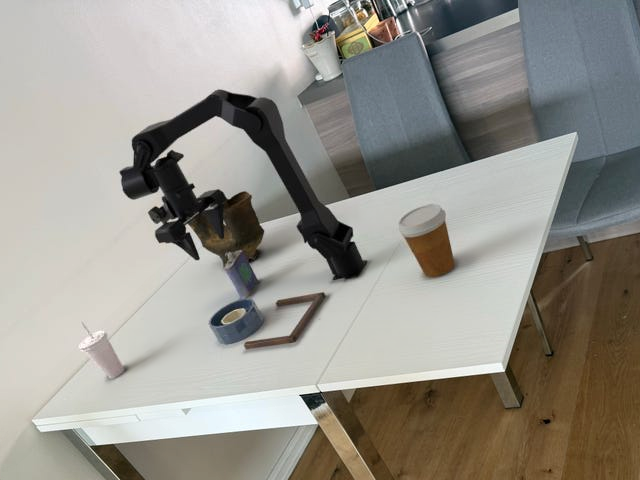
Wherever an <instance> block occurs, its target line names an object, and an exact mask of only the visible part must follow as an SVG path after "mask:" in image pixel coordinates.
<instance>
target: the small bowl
mask: <svg viewBox="0 0 640 480" xmlns="http://www.w3.org/2000/svg"><path fill="white" fill-rule="evenodd" d="M246 313H247V312H246V311H245V309H244V308H242V309H236V310H234V311H232V312H230V313H228V314H227V315H226V316H225V317H224V318H223V319H222V320H221V322H222V324H223V325H226V324H229V323H232V322H234V321H236V320H237V319H239V318H241V317H242V316H243V315H245V314H246Z"/></svg>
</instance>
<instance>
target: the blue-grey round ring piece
mask: <svg viewBox="0 0 640 480" xmlns="http://www.w3.org/2000/svg"><path fill="white" fill-rule="evenodd" d="M242 308H244V309H245V311H246V312H247V313H246V314H245V315H243V316H242V317H241V318H239V319H237V320H236V321H234V322H232V323H229V324H226V325H223V324H222V322H221V320H222V319H223V318H224V317H225V316H226V315H227V314H228V313H230V312H232V311H234V310H236V309H242ZM263 323H264V316H263V314H262V312H261V310H260V309H259V307H258V305H257V303H256V301H255V300H254V299H253V298H249V297H248V298H245V299H241V298H240V299H237V300H235V301H232V302H229V303H227V304H226V305H224V306H223V307H221V308H219V310H217V311H216V312H214V313H213V315H212V316H211V317H210V318H209V320H208V326H209V328H210V329H211V330H212V332H213V334H214V336H215V337H216V339H217V341H218V343H219V344H223V345H230V344H231V345H232V344H234V343H237V342H240V341H242V340H245V339H246V338H248V337H250V336H251V335H253V334H255V332H257V331H258V330H259V329H260V328H261V326H262V325H263Z"/></svg>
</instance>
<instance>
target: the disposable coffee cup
mask: <svg viewBox="0 0 640 480" xmlns="http://www.w3.org/2000/svg"><path fill="white" fill-rule="evenodd" d="M446 215H447V212H446V211H445V210H444V209H443V208H442V206H441V205H440V204H437V203H436V204H435V203H433V204H432V203H430V204H425V205H424V204H423V205H421V206H418V207H415V208H413V209H411V210H409V211H408V212H406V213H405V214H403V215H402V216H401V218H399V220H398V229H397V231H398V232H399V234H401V235H402V237H403V238H404V240H405V242H406V243H407V245H408V247H409V249H410V251H411V253H412V254H413V256H414V258H415V260H416V261H417V263H418V265H419V267H420V268H421V270H422V272H423V274H424V276H425V277H427V278H437V277H442V276H444V275H445V274H448V273H449V272H450V271H452V270H454V268H455V265H456V264H455V263H456V262H455V259H454V254H453V249H452V243H451V240H450V235H449V231H448V225H447V223H446Z"/></svg>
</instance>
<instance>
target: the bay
mask: <svg viewBox="0 0 640 480" xmlns="http://www.w3.org/2000/svg"><path fill="white" fill-rule="evenodd" d="M325 298H326V294H325V292H324V291H321V292H317V293H310V294H304V295H300V296H293V297H288V298H282V299H278V300H276V302H275V305H276V307H277V308H281V307H285V306H292V305H297V304H305V303H310V302H311V304H310V305H309V307H308V308H307V310H306V311H305V312H304V314H303V315H302V317H301V318H300V320H299V321H298V323H297V324H296V326H295V327H294V328H293V330H292V331H291V333H290V334H289V335H283V336H277V337H270V338H263V339H256V340H249V341H245V342H244V344H243V347H244V348H245V350H250V349H258V348H264V347H265V348H266V347H271V346H272V347H273V346H281V345H286V344H294V343H295V342H296V341H297V340H298V338H299V337H300V334H302V332H303V331H304V330H305V328H306V326H307V325H308V323H309V322H310V320H311V319H312V317H313V316H314V314H315V313H316V311H317V310H318V309H319V307H320V306H321V304H322V303H323V301H324V299H325Z"/></svg>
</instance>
